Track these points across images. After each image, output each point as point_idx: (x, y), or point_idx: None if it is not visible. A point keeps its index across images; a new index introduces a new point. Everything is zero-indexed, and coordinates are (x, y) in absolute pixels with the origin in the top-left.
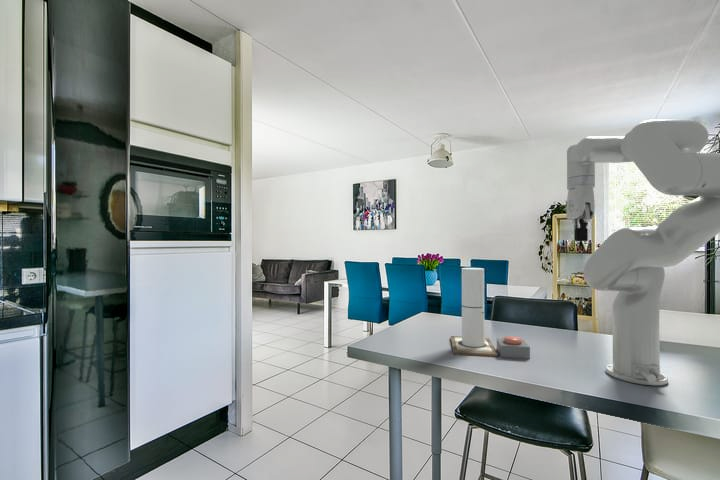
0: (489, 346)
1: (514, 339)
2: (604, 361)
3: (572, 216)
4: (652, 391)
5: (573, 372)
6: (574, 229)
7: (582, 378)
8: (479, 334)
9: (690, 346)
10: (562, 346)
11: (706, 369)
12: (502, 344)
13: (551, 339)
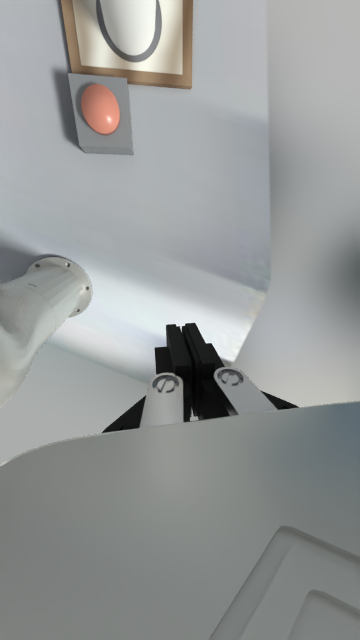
0: (121, 67)
1: (93, 111)
2: (114, 274)
3: (181, 439)
4: None
5: (41, 209)
6: (211, 358)
7: (17, 213)
8: (102, 6)
9: None
10: (176, 240)
11: (120, 368)
12: (76, 79)
13: (215, 235)
